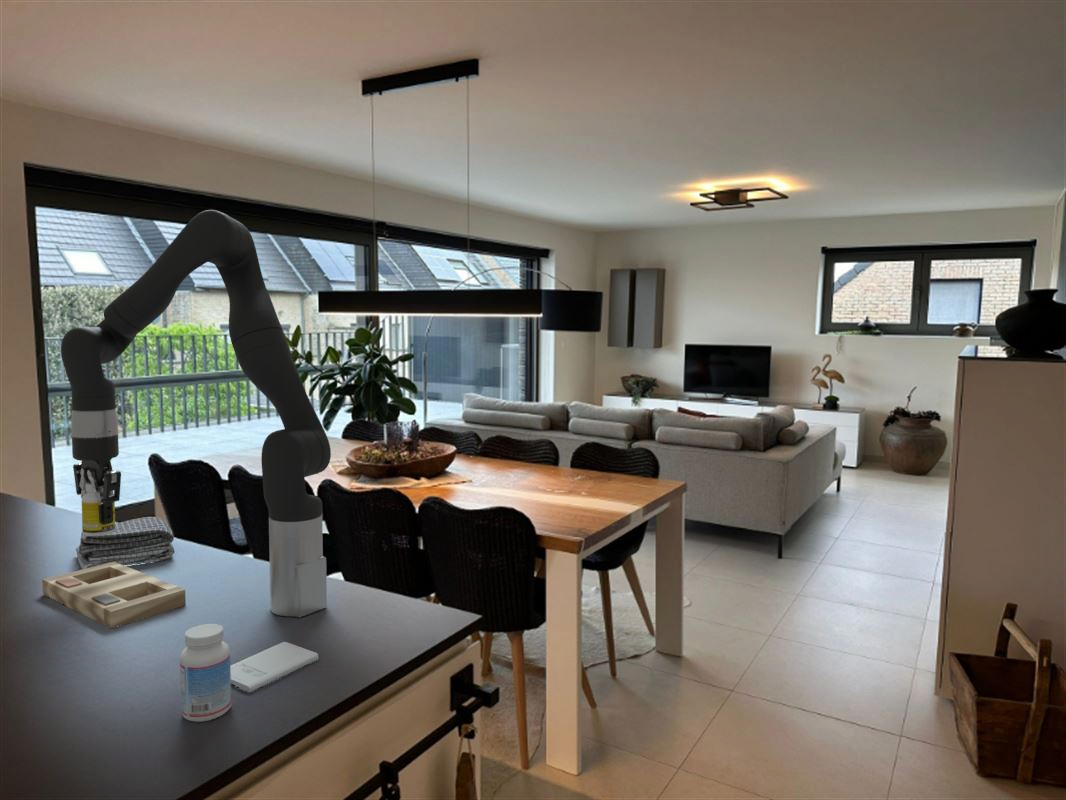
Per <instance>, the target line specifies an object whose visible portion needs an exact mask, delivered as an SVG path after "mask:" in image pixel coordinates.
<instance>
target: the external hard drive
mask: <svg viewBox="0 0 1066 800" xmlns="http://www.w3.org/2000/svg"><path fill="white" fill-rule="evenodd" d="M316 658H318V659H319V654H318V652H315V651H312V650H310V649H307V648H304V647H301V646H298V645H296V644H293V643H290V642H287V641H282V642H280V643H277V644H275V645H273V646H271V647H269V648H266V649H264V650H262V651H260V652H258V653H256V654H254V655H251V656H249V657H247V658H244V659H243V660H239V661H238V662H236V663H234V664H230V671H231V685H232V684H233V685H232V686H234V685H237V686H239V687H241V688H244V689H246V690H249V691H250V690H252V689H255V688H257V687H259V686H260V685H263V684H265V683H267V682H269V681H271V680H273V679H275V678H277V677H279V676H281V675H283V674H285V673H287V672H289V671H291V670H294V669H295V668H297V667H299V666H301V665H303V664H305V663H307V662H310V661H311V660H314V659H316Z"/></svg>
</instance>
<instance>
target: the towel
mask: <svg viewBox="0 0 1066 800" xmlns="http://www.w3.org/2000/svg"><path fill="white" fill-rule="evenodd" d="M174 537H175V536H174V531H173V530H172V528H171V527H170V525H169V524H168V522H167V521H166V520H165V519H163V518H161V517H158V516H157V517H156V516H145V517H138V518H134V519H128V520H124V521H121V522H117V523H115V531H114V532H112V533H110V534H107V535H102V536H86V535H84V534H83V531H82V532H81V536H80V540H79V541H80V544H79V546H76V547H75V552H76V556H77V559H78V565H80V569H81V570H83V569H87V568H91V567H95V566H99V565H103V564H107V563H111V562H116V563H119V564H121V565H132V564H141V563H149V564H151V563H150V562H155V563H160V562H159V561H161V562H163V560H164V561H167V560H169V559H171V558H172V557H173V556H174V554H175V547H174V544H173V541H174V540H175V539H174ZM157 561H158V562H157Z"/></svg>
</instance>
